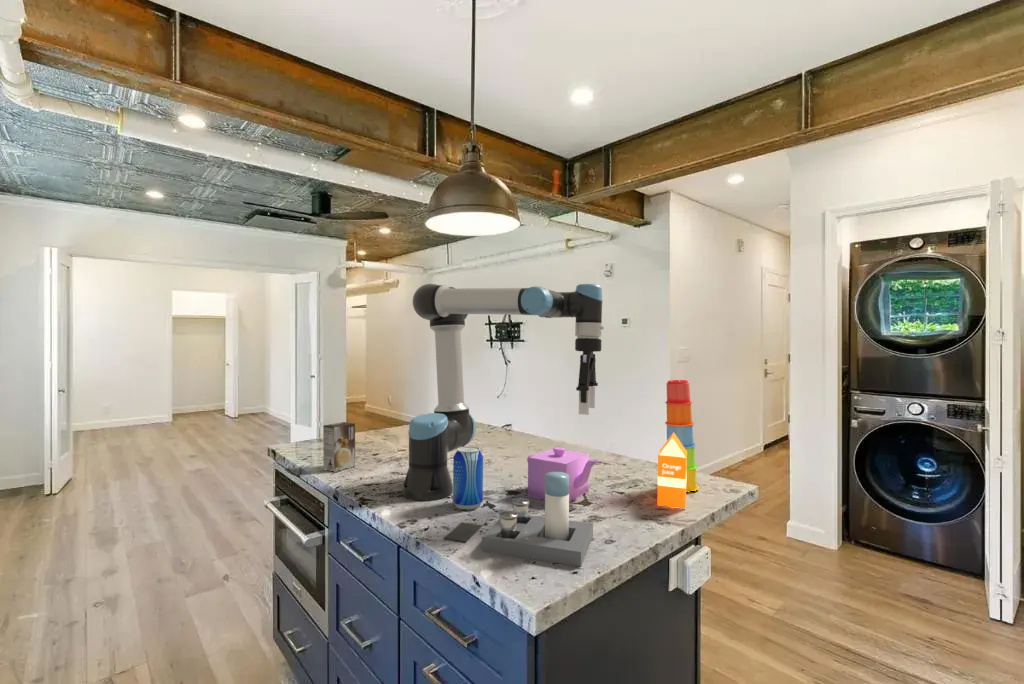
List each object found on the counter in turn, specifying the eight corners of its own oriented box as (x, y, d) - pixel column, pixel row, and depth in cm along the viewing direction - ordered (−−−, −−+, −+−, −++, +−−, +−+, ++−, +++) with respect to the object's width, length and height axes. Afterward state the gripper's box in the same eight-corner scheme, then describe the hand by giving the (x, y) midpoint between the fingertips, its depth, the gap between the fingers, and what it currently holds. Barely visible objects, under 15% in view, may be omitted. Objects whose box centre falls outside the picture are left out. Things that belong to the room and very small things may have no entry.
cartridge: (541, 548, 105) (542, 477, 105) (547, 539, 110) (548, 470, 110) (565, 552, 103) (566, 479, 103) (570, 542, 108) (571, 473, 108)
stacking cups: (691, 495, 144) (692, 382, 144) (659, 488, 151) (660, 380, 151) (704, 488, 152) (705, 380, 152) (673, 481, 159) (674, 378, 159)
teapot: (588, 510, 131) (589, 459, 131) (514, 493, 145) (514, 447, 145) (610, 495, 144) (610, 449, 144) (539, 481, 158) (540, 439, 158)
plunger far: (509, 521, 113) (509, 502, 113) (514, 515, 117) (515, 497, 117) (526, 523, 111) (526, 504, 111) (531, 517, 115) (531, 499, 115)
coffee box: (344, 464, 176) (344, 421, 176) (355, 467, 172) (355, 423, 172) (322, 470, 168) (323, 425, 168) (333, 472, 165) (334, 427, 165)
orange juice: (656, 506, 134) (657, 436, 134) (659, 496, 143) (660, 430, 143) (686, 510, 132) (686, 438, 132) (686, 500, 140) (687, 432, 140)
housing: (481, 552, 104) (481, 536, 104) (505, 525, 119) (505, 512, 119) (580, 569, 97) (581, 552, 97) (592, 538, 112) (593, 523, 112)
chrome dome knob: (496, 535, 104) (496, 515, 104) (502, 528, 108) (502, 509, 108) (514, 538, 103) (514, 518, 103) (520, 531, 107) (520, 511, 107)
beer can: (485, 509, 131) (486, 451, 131) (455, 511, 128) (456, 453, 128) (479, 499, 139) (479, 444, 139) (450, 501, 137) (451, 446, 136)
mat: (443, 539, 111) (443, 537, 111) (461, 523, 120) (461, 522, 120) (483, 545, 107) (483, 543, 107) (498, 529, 117) (498, 527, 117)
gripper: (596, 337, 124) (594, 418, 124) (605, 338, 148) (604, 405, 148) (567, 337, 126) (566, 416, 126) (581, 337, 150) (580, 404, 150)
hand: (587, 411), depth 137 cm, fingers open, 13 cm apart
